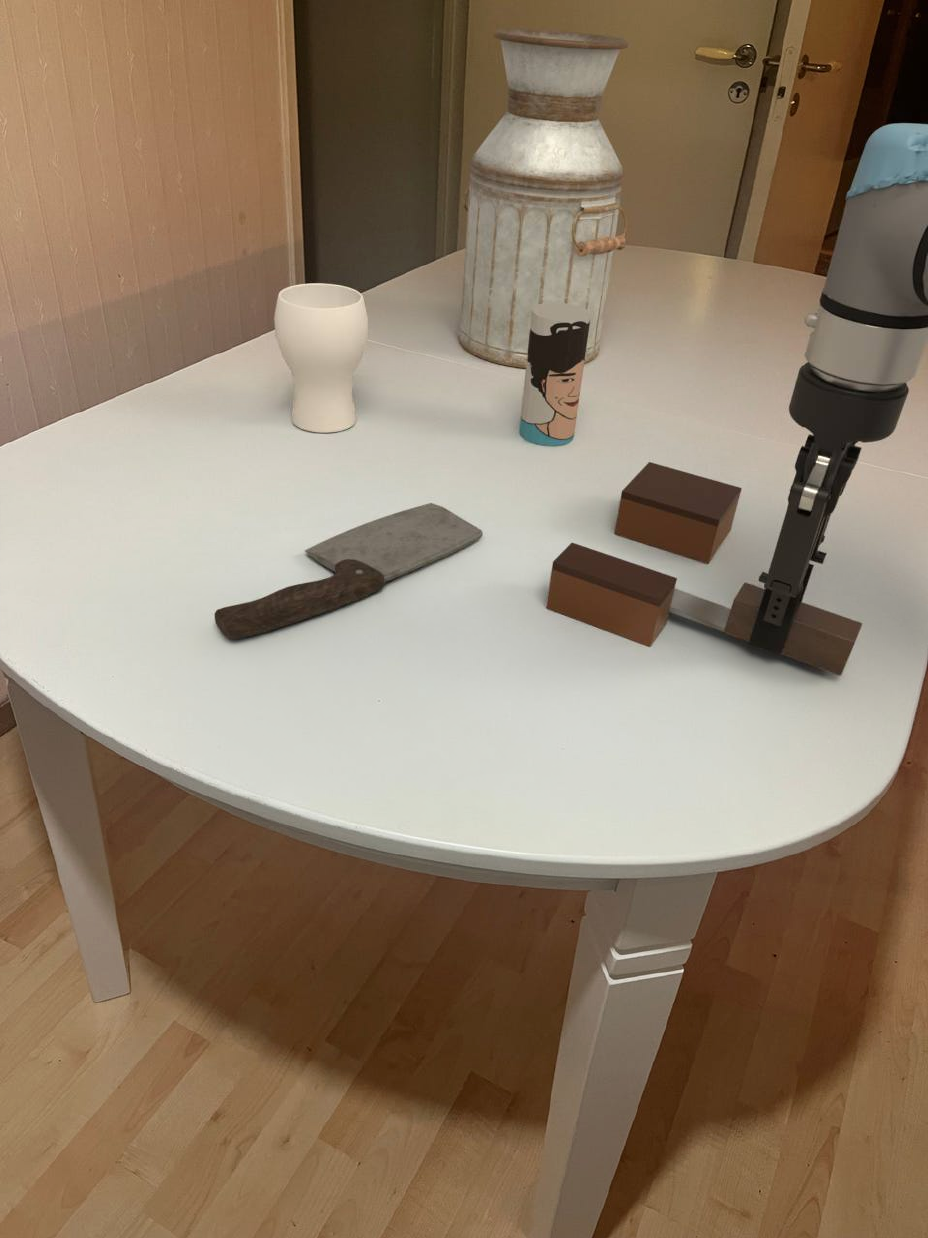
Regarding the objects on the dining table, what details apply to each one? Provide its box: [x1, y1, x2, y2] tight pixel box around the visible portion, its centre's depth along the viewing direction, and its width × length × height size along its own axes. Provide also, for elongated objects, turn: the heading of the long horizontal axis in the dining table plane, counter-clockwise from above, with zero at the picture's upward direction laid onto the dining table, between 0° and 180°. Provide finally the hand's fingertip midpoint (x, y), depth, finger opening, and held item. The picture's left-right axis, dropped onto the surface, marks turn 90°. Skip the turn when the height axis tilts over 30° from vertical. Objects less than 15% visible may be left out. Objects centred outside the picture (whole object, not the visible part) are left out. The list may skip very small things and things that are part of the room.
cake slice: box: [546, 542, 678, 648], centre depth 81 cm, size 10×4×5 cm, turn 60°
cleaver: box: [214, 502, 484, 640], centre depth 85 cm, size 30×10×2 cm, turn 137°
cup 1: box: [273, 282, 369, 434], centre depth 108 cm, size 11×11×15 cm
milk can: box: [457, 28, 629, 369], centre depth 128 cm, size 24×21×40 cm
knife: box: [669, 582, 863, 677], centre depth 80 cm, size 24×3×4 cm, turn 60°
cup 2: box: [518, 303, 591, 447], centre depth 109 cm, size 7×7×15 cm
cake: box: [613, 461, 742, 565], centre depth 94 cm, size 10×8×5 cm
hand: (770, 635), depth 79 cm, fingers closed on knife, 3 cm apart
